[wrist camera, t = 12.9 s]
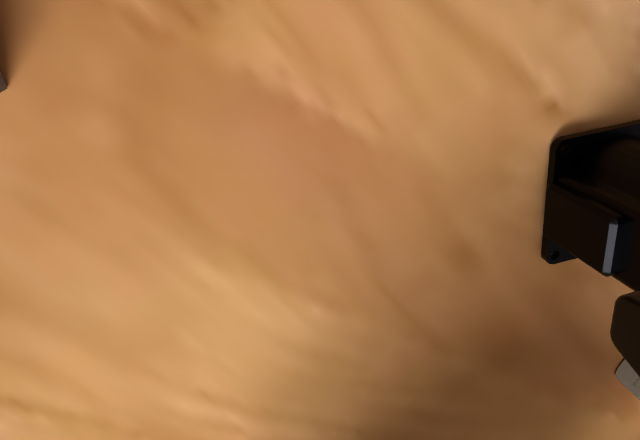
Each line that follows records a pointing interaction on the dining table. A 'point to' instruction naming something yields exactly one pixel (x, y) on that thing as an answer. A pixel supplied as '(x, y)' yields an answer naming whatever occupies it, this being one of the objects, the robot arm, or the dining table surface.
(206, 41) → the dining table surface
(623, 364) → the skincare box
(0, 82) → the podium
